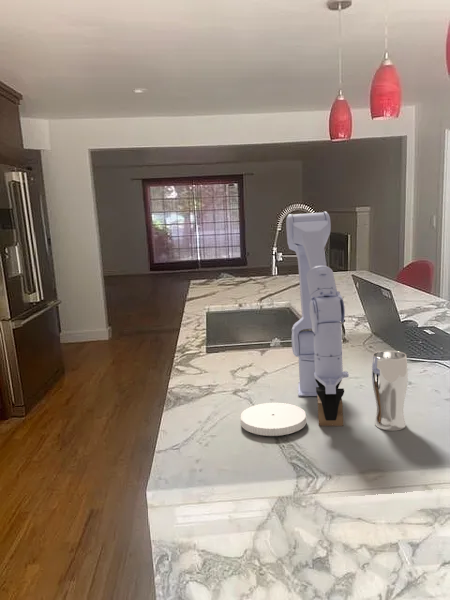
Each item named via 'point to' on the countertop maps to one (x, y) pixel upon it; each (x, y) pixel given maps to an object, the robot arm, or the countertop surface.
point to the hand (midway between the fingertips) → (330, 414)
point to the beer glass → (389, 388)
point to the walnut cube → (330, 422)
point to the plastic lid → (273, 419)
